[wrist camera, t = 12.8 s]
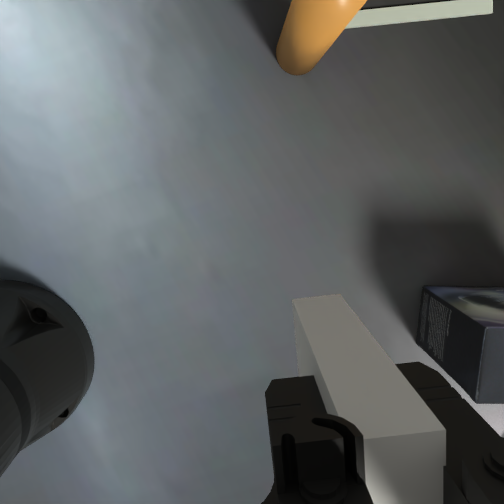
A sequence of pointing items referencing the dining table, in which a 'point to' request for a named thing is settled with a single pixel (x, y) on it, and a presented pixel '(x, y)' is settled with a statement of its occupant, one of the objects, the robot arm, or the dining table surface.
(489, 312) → the small box
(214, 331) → the dining table surface
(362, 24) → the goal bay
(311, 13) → the post
